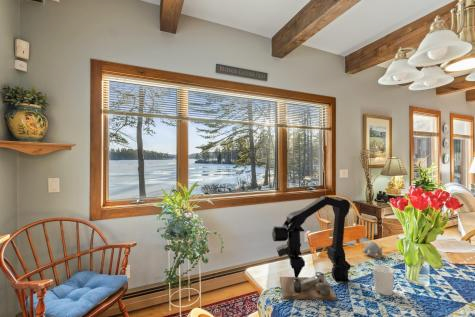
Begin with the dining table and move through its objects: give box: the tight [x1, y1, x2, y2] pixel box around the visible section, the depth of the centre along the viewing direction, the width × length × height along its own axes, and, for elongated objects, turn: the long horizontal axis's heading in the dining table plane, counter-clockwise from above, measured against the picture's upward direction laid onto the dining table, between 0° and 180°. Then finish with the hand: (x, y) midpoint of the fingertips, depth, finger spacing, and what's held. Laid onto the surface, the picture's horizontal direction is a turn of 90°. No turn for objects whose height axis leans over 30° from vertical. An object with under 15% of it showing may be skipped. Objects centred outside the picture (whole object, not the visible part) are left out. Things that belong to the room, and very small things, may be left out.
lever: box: [294, 271, 325, 293], centre depth 104 cm, size 17×4×4 cm, turn 119°
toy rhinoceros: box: [362, 241, 384, 258], centre depth 141 cm, size 7×12×8 cm, turn 100°
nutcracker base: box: [279, 276, 338, 301], centre depth 105 cm, size 22×16×5 cm
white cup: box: [372, 264, 395, 296], centre depth 103 cm, size 8×8×10 cm
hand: (294, 272), depth 111 cm, fingers open, 9 cm apart
